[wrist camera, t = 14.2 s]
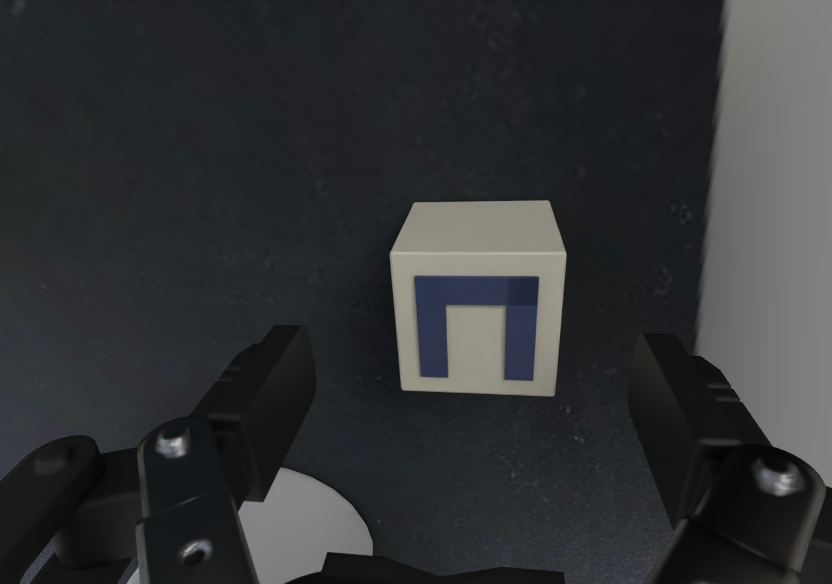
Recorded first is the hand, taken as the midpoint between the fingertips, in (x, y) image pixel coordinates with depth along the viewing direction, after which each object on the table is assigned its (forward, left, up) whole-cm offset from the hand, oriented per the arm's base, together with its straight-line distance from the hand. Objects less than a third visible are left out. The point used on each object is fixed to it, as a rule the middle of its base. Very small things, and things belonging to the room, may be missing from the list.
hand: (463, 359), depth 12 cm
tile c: (0, 0, -6) cm, 6 cm away
